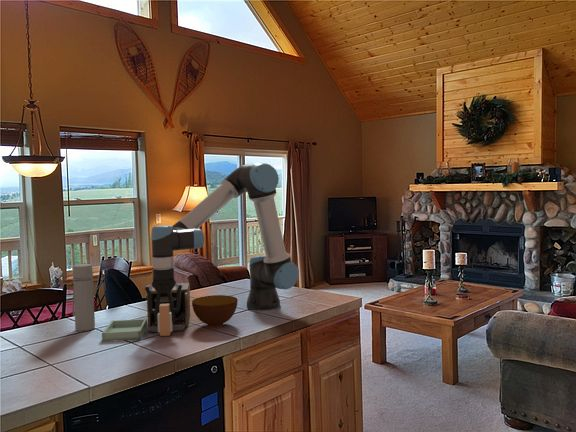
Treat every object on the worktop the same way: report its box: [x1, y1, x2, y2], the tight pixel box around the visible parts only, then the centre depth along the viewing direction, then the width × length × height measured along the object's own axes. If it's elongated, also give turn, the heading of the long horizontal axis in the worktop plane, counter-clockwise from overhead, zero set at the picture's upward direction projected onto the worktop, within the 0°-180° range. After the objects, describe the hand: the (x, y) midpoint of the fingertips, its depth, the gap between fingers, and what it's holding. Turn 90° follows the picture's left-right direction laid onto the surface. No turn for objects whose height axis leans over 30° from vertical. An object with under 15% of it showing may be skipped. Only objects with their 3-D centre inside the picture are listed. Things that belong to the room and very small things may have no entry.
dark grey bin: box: [148, 304, 186, 337], centre depth 187 cm, size 13×21×11 cm, turn 8°
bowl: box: [191, 294, 239, 329], centre depth 190 cm, size 18×18×10 cm
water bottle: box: [70, 263, 96, 332], centre depth 187 cm, size 9×8×25 cm
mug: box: [154, 297, 182, 325], centre depth 193 cm, size 12×9×10 cm
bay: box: [146, 282, 191, 330], centre depth 195 cm, size 15×17×14 cm
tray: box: [101, 318, 148, 342], centre depth 181 cm, size 13×16×3 cm
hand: (165, 330), depth 179 cm, fingers closed on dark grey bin, 3 cm apart
